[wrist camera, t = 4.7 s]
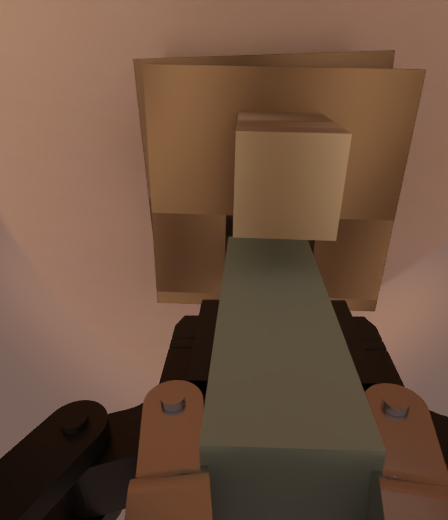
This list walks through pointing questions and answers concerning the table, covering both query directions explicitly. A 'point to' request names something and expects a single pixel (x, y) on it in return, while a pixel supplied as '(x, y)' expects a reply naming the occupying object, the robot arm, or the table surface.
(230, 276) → the green square block
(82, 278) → the table surface
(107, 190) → the table surface
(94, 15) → the table surface
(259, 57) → the box
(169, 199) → the lid
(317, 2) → the table surface
